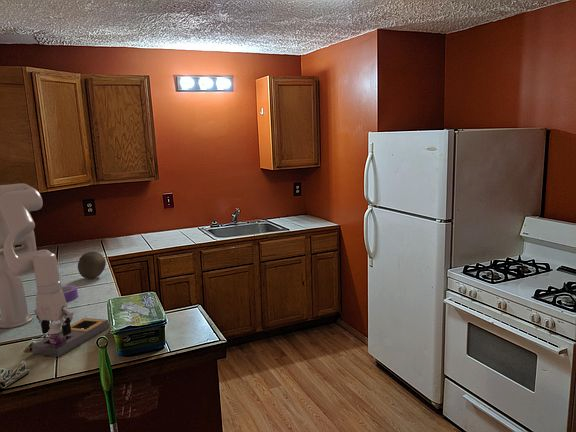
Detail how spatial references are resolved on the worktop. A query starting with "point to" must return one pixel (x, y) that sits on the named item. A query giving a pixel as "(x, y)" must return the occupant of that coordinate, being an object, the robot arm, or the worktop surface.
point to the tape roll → (70, 292)
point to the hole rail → (71, 337)
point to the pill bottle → (56, 333)
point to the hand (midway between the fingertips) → (57, 333)
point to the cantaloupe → (91, 265)
